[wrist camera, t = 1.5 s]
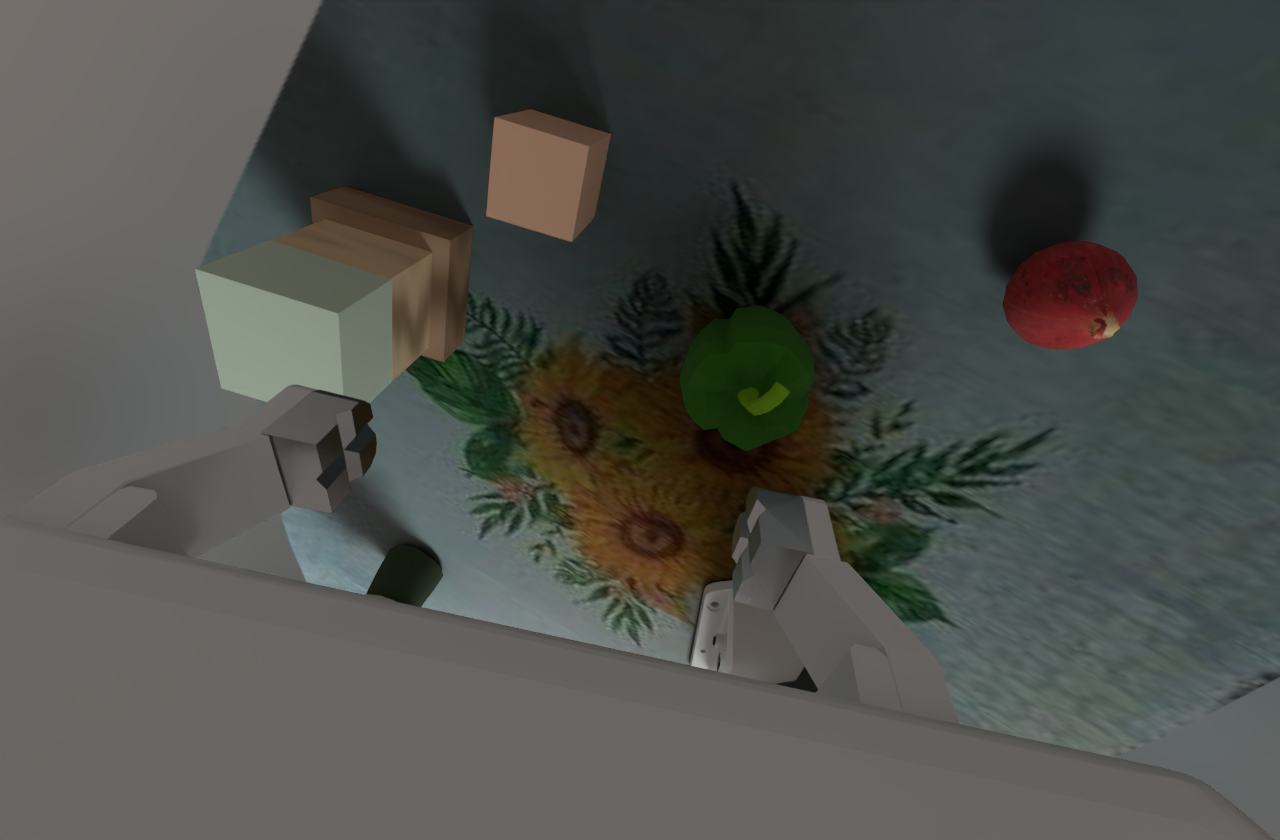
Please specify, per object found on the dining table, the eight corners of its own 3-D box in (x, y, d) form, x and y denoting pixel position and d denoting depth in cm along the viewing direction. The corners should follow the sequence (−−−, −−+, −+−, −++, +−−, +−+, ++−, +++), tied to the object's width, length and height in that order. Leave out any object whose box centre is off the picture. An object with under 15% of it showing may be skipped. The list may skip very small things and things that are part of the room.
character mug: (403, 517, 54) (321, 630, 43) (465, 551, 55) (402, 667, 45) (372, 571, 60) (293, 682, 49) (430, 600, 61) (366, 713, 50)
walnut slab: (466, 338, 42) (443, 361, 38) (354, 304, 41) (321, 325, 38) (475, 224, 37) (450, 240, 33) (347, 185, 36) (309, 196, 33)
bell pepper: (717, 409, 42) (714, 494, 33) (667, 321, 38) (651, 391, 30) (823, 368, 38) (849, 451, 30) (780, 268, 35) (796, 330, 27)
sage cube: (392, 381, 34) (345, 425, 30) (283, 348, 33) (221, 388, 29) (392, 279, 30) (338, 313, 26) (269, 240, 29) (194, 269, 25)
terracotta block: (594, 217, 35) (571, 242, 30) (521, 194, 35) (486, 216, 30) (611, 133, 32) (589, 146, 27) (531, 109, 32) (494, 117, 27)
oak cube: (429, 346, 38) (392, 381, 34) (333, 317, 38) (284, 349, 33) (432, 252, 34) (391, 278, 30) (325, 219, 34) (268, 240, 29)
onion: (973, 255, 33) (1034, 302, 26) (1082, 208, 31) (1179, 247, 24) (993, 332, 35) (1053, 394, 29) (1095, 295, 33) (1187, 352, 26)
